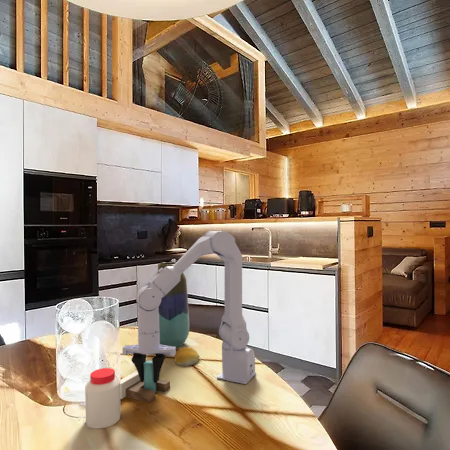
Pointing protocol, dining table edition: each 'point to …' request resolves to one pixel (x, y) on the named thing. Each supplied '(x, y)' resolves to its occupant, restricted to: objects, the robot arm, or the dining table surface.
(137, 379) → the board
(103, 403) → the pill bottle
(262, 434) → the dining table surface
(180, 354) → the bread roll
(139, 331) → the robot arm
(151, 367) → the dowel
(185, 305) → the vase
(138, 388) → the block
